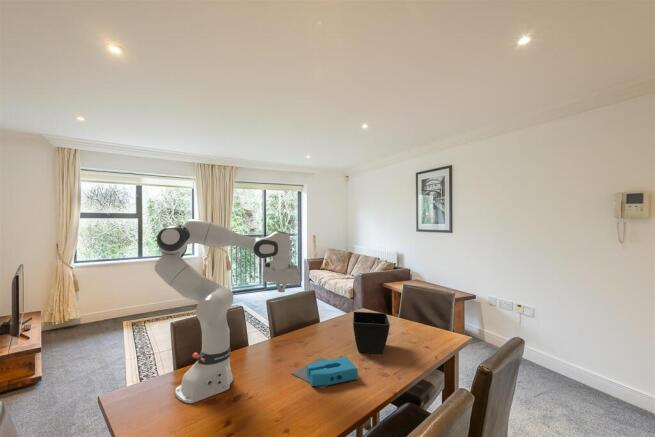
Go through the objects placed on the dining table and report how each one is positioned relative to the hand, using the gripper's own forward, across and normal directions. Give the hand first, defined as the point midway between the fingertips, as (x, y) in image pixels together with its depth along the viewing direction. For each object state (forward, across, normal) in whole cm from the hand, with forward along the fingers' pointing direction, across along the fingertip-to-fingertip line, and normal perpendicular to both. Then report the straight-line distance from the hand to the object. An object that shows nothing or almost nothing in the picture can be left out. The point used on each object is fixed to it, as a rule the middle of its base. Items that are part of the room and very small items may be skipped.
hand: (281, 292), depth 141 cm
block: (+31, -21, +11) cm, 39 cm away
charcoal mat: (+34, -22, +1) cm, 41 cm away
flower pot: (+34, -37, -33) cm, 60 cm away
